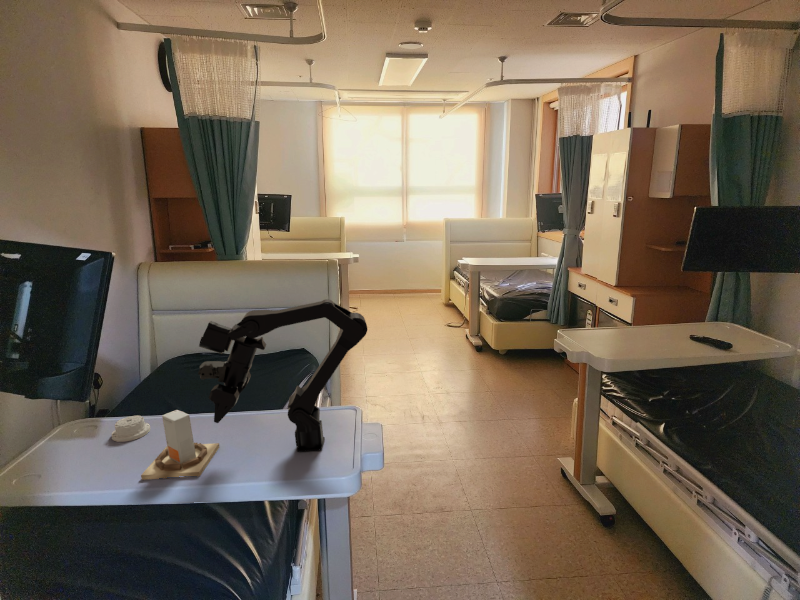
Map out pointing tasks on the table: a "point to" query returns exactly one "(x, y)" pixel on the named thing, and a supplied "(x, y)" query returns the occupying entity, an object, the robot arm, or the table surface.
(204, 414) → the table surface
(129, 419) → the mechanical component
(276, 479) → the table surface
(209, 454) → the board
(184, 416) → the skincare box
